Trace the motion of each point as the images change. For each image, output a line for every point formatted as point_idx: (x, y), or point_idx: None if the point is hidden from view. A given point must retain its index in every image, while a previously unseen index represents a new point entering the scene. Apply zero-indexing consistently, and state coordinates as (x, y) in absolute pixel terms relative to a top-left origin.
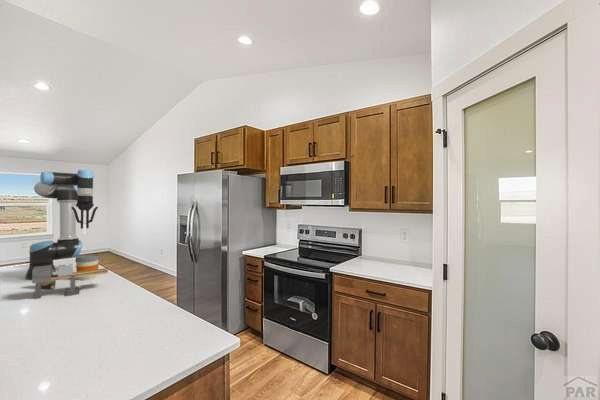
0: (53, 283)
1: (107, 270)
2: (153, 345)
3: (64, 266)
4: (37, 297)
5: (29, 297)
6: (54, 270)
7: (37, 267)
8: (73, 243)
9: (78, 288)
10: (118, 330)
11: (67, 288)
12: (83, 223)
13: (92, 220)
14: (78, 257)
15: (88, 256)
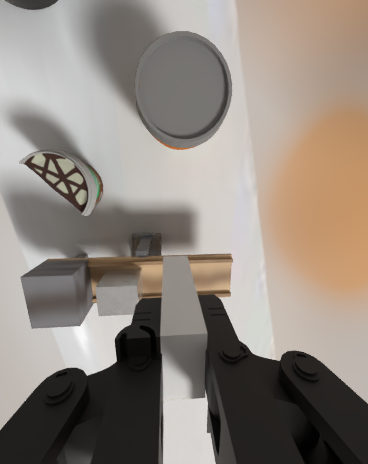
0: (96, 202)
1: (229, 293)
2: None
3: (116, 314)
4: None
5: (64, 246)
6: (78, 168)
7: (33, 288)
8: None
9: (158, 251)
10: (206, 460)
11: (134, 234)
12: (166, 395)
13: (321, 445)
14: (145, 78)
15: (187, 80)
